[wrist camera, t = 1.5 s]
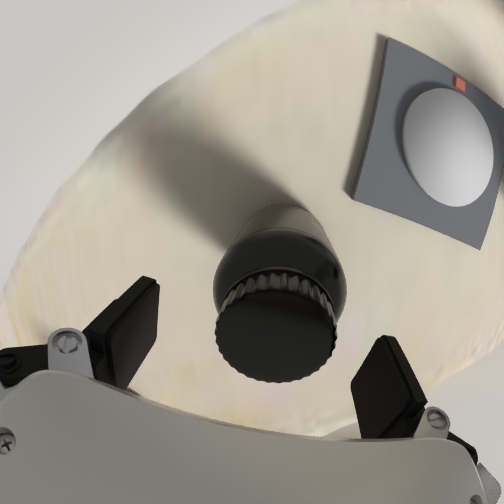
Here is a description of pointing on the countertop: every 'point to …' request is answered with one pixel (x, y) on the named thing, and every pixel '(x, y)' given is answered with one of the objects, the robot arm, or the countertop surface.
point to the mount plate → (432, 147)
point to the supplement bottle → (279, 296)
